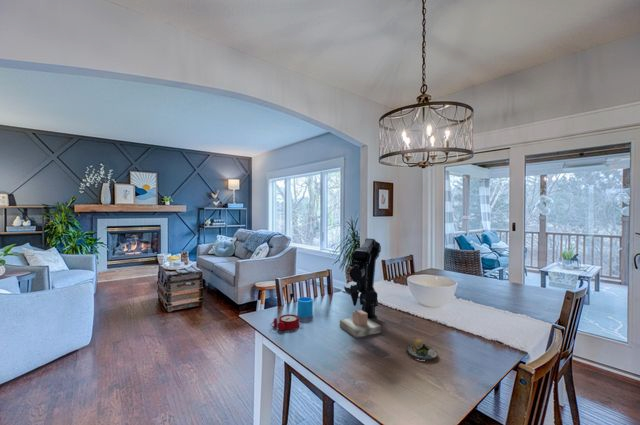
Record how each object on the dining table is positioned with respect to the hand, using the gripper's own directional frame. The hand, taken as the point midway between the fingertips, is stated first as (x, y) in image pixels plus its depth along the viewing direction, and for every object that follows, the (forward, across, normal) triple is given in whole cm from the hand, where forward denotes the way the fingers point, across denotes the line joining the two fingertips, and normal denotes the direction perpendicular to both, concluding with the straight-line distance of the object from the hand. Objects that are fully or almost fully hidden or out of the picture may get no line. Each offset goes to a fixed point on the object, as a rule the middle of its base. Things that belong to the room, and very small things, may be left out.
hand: (360, 308), depth 138 cm
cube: (+7, 0, 0) cm, 7 cm away
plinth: (+10, 0, 0) cm, 10 cm away
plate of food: (+10, +30, +9) cm, 33 cm away
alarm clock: (+10, -17, -31) cm, 37 cm away
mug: (+10, -30, -16) cm, 35 cm away
